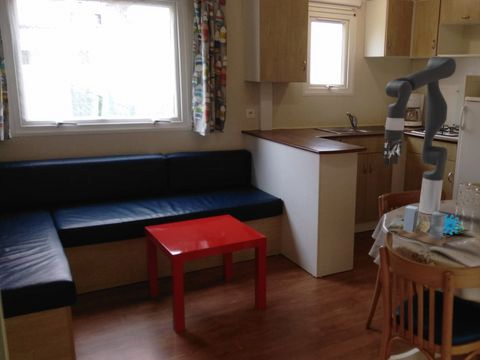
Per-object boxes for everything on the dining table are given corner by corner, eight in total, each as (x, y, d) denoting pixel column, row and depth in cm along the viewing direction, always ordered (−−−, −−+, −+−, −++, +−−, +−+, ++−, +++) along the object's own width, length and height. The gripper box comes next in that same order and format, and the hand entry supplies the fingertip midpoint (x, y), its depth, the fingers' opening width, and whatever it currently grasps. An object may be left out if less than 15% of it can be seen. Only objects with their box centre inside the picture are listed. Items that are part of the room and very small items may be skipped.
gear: (432, 228, 192) (441, 210, 196) (432, 234, 197) (440, 216, 200) (459, 238, 186) (467, 218, 189) (458, 244, 191) (466, 225, 194)
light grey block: (406, 227, 190) (408, 205, 188) (416, 229, 188) (418, 207, 185) (402, 229, 187) (405, 207, 185) (413, 232, 185) (415, 209, 182)
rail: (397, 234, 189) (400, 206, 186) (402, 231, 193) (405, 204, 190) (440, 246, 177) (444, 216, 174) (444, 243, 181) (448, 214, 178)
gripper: (395, 130, 182) (391, 169, 186) (410, 127, 192) (405, 164, 196) (378, 128, 187) (375, 166, 191) (393, 126, 197) (389, 161, 201)
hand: (390, 165), depth 193 cm, fingers open, 8 cm apart
